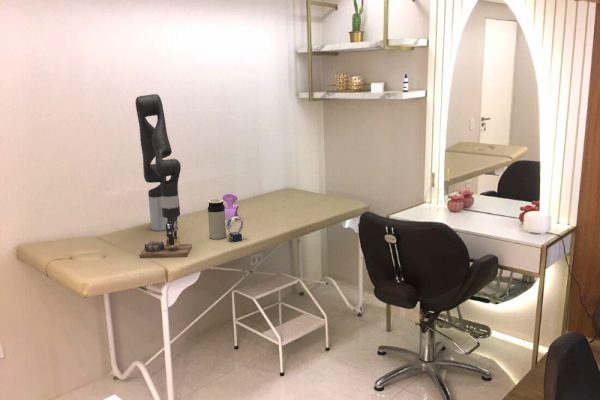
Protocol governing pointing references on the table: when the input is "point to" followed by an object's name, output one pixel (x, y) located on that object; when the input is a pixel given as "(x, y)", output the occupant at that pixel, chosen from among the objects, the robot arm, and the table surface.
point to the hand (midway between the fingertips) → (173, 242)
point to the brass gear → (176, 240)
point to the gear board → (164, 250)
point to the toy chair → (230, 205)
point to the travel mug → (216, 219)
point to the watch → (234, 235)
